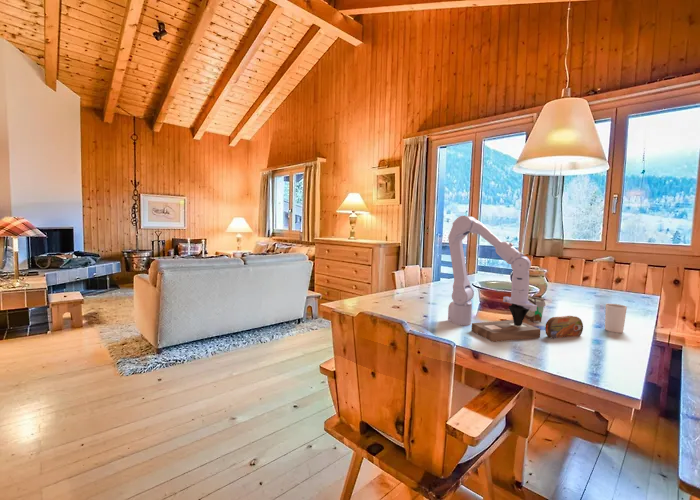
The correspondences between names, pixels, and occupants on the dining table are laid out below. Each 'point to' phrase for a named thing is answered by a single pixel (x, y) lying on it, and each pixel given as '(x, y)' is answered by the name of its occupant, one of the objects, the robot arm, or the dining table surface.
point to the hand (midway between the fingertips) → (517, 325)
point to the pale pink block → (492, 327)
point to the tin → (564, 327)
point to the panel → (505, 331)
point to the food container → (537, 315)
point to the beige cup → (615, 317)
